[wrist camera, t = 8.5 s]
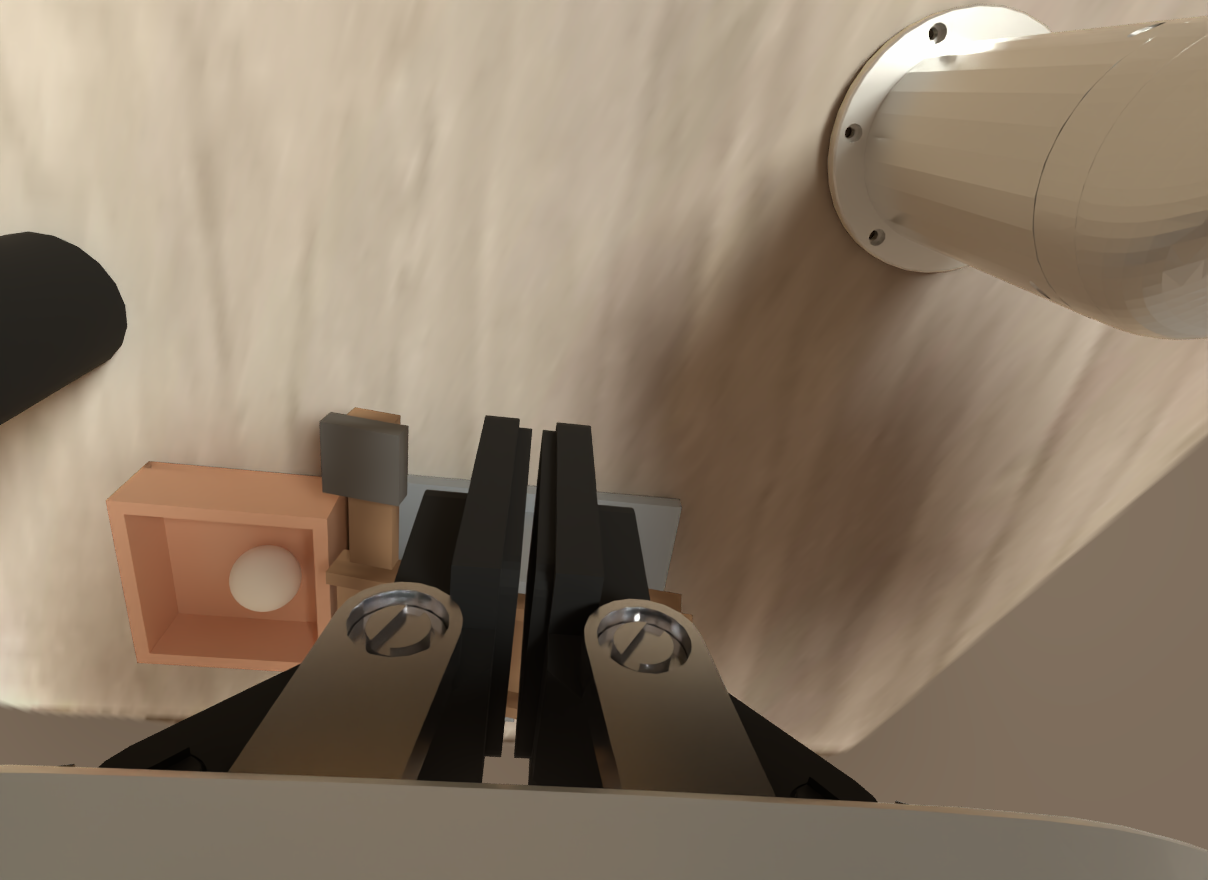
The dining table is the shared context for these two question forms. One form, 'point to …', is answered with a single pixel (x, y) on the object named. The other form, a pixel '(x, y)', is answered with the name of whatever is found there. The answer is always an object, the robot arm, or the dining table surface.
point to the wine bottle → (52, 318)
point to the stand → (651, 512)
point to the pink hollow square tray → (222, 562)
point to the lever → (389, 512)
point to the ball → (265, 578)
